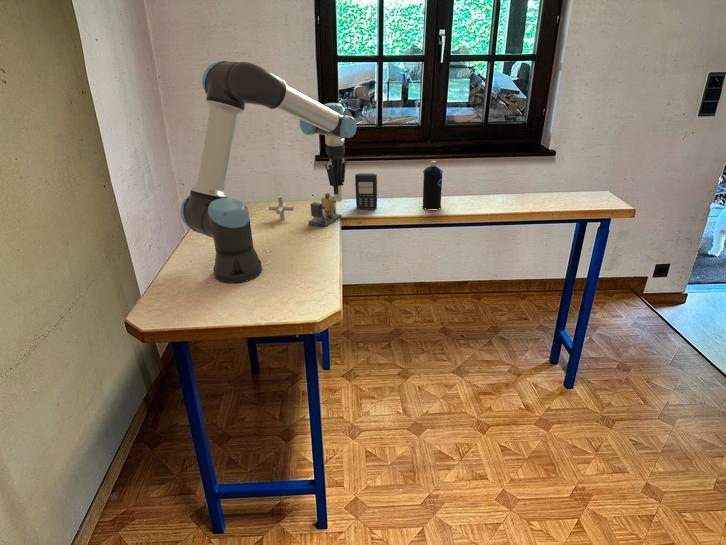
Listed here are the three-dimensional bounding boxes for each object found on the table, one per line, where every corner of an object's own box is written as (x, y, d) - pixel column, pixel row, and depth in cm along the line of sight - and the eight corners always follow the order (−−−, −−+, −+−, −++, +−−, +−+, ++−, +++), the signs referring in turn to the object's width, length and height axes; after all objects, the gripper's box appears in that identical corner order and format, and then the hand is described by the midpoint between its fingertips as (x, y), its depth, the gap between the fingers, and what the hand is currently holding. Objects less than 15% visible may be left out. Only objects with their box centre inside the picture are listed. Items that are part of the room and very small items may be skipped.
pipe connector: (297, 215, 200) (295, 192, 196) (291, 224, 192) (289, 200, 187) (274, 215, 201) (271, 192, 197) (267, 224, 192) (264, 200, 188)
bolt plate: (325, 227, 187) (323, 207, 183) (308, 224, 191) (307, 204, 187) (341, 218, 196) (340, 198, 193) (325, 215, 200) (324, 195, 196)
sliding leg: (333, 215, 193) (332, 196, 189) (322, 213, 196) (320, 194, 192) (338, 213, 196) (337, 194, 192) (327, 211, 199) (325, 192, 195)
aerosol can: (422, 210, 202) (424, 163, 193) (421, 204, 209) (422, 159, 200) (442, 210, 202) (444, 163, 193) (440, 204, 209) (442, 158, 200)
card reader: (355, 209, 206) (354, 175, 199) (356, 206, 209) (355, 172, 202) (376, 209, 205) (376, 175, 198) (377, 206, 208) (377, 172, 201)
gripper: (334, 148, 183) (337, 206, 194) (351, 141, 193) (353, 197, 204) (318, 146, 187) (322, 204, 197) (336, 140, 197) (339, 195, 207)
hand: (338, 200), depth 201 cm, fingers closed
